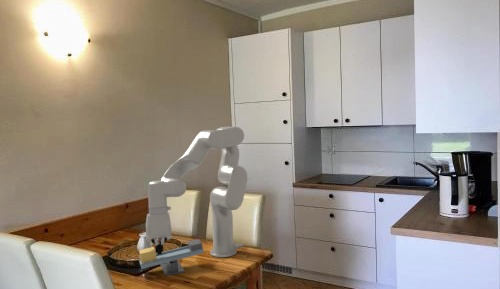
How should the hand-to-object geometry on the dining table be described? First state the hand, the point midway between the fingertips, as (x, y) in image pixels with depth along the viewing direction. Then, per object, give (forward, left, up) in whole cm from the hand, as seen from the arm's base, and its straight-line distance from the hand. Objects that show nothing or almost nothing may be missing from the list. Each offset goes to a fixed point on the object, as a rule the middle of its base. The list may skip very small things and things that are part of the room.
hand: (159, 253), depth 163 cm
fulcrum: (-5, 0, -8) cm, 9 cm away
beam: (-5, 0, -3) cm, 6 cm away
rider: (+4, 0, -2) cm, 5 cm away
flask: (+3, -19, -8) cm, 21 cm away
